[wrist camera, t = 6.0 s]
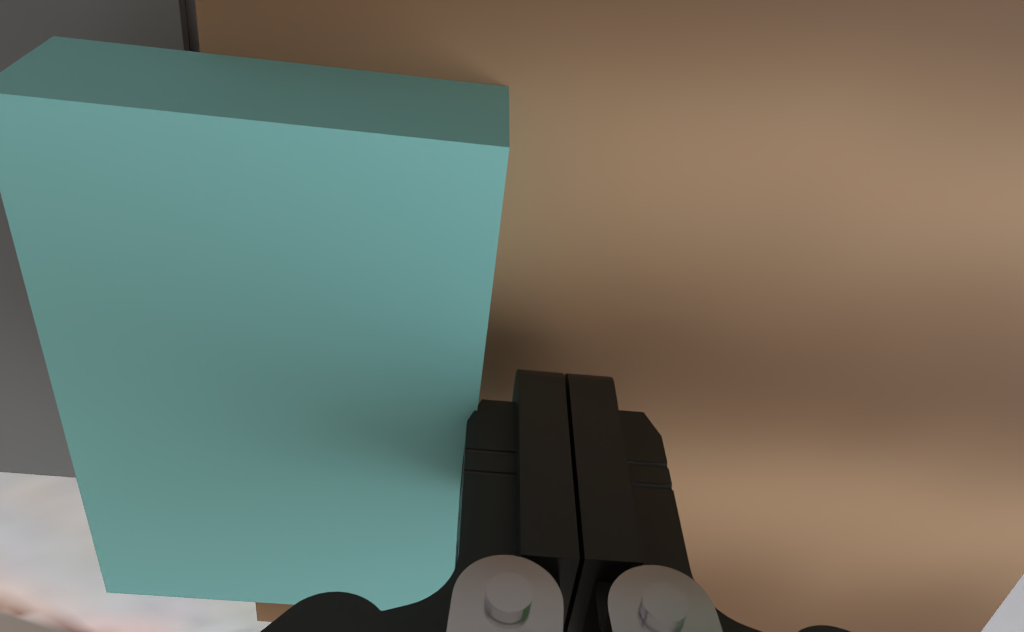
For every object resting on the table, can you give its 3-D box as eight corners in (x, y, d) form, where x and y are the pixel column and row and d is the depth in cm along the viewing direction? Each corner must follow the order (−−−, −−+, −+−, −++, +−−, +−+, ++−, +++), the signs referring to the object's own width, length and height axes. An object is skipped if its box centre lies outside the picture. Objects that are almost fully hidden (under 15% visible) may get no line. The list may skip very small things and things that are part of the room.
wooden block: (258, -268, 12) (168, -265, 9) (1263, -128, 13) (1508, -82, 10) (295, 485, 21) (257, 620, 18) (890, 530, 23) (955, 665, 19)
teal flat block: (53, 36, 11) (-27, 91, 9) (509, 86, 11) (509, 147, 10) (147, 504, 16) (106, 592, 14) (457, 527, 16) (452, 615, 15)
